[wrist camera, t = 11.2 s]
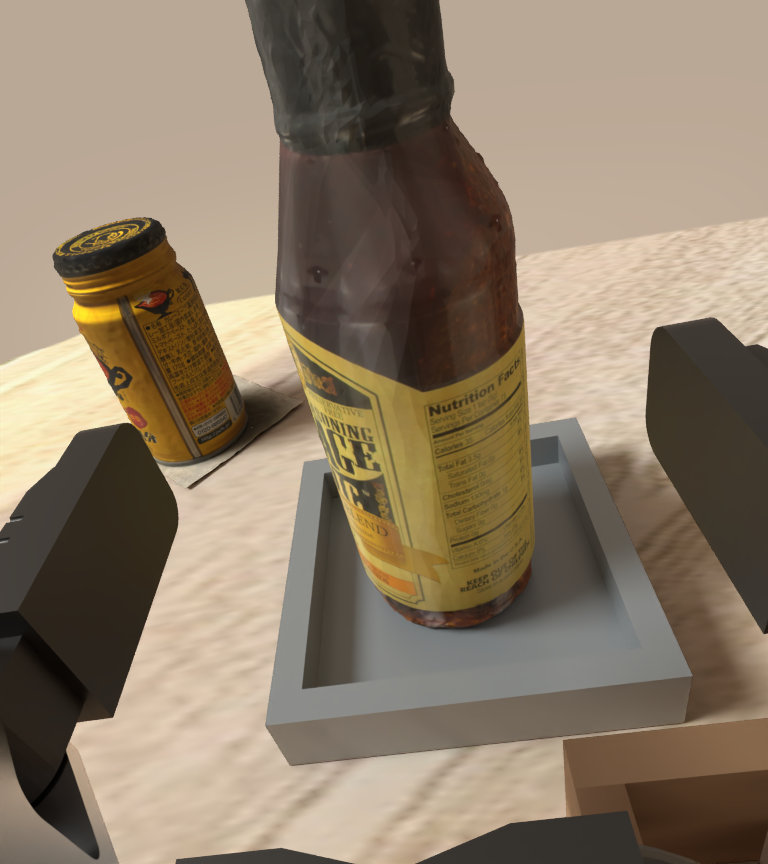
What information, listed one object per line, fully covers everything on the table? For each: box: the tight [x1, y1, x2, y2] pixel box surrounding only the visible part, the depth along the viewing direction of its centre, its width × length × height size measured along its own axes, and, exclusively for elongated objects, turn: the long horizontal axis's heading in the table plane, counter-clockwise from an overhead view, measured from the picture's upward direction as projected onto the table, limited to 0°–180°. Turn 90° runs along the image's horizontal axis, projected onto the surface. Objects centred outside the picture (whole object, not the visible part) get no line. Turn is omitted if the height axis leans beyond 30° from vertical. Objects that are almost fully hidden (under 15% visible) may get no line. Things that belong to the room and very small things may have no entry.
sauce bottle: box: [245, 0, 535, 628], centre depth 17 cm, size 7×6×20 cm
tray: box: [265, 418, 693, 765], centre depth 23 cm, size 12×12×2 cm
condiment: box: [53, 217, 303, 488], centre depth 33 cm, size 7×8×12 cm
